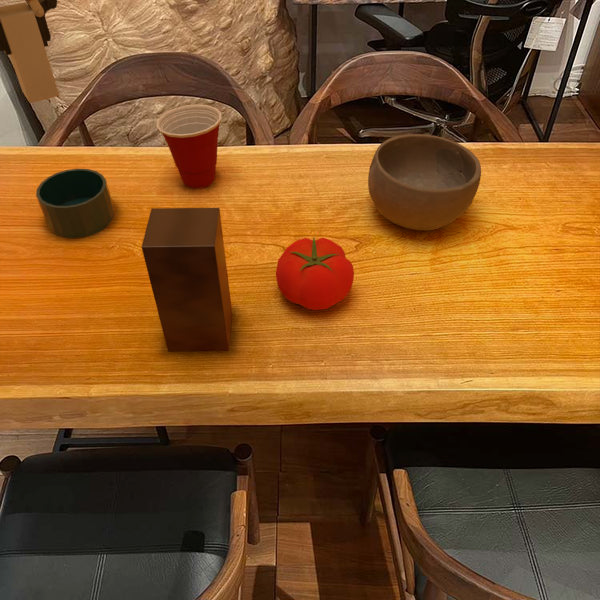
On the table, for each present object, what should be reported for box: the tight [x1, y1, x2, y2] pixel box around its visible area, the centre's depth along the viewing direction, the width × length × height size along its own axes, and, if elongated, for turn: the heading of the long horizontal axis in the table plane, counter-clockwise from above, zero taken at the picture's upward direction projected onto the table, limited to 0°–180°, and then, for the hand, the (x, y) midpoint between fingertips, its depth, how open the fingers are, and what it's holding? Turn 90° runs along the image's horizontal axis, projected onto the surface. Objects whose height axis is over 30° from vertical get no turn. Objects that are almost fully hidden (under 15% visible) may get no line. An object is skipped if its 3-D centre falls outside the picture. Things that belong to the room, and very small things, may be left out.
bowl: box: [367, 133, 482, 231], centre depth 94 cm, size 17×18×10 cm
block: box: [0, 1, 60, 104], centre depth 77 cm, size 4×4×11 cm
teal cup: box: [35, 168, 115, 239], centre depth 94 cm, size 11×11×6 cm
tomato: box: [275, 237, 355, 311], centre depth 82 cm, size 11×11×8 cm
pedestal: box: [141, 207, 233, 352], centre depth 73 cm, size 8×7×18 cm
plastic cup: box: [155, 104, 222, 189], centre depth 100 cm, size 11×11×12 cm
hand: (25, 48), depth 76 cm, fingers closed on block, 4 cm apart
